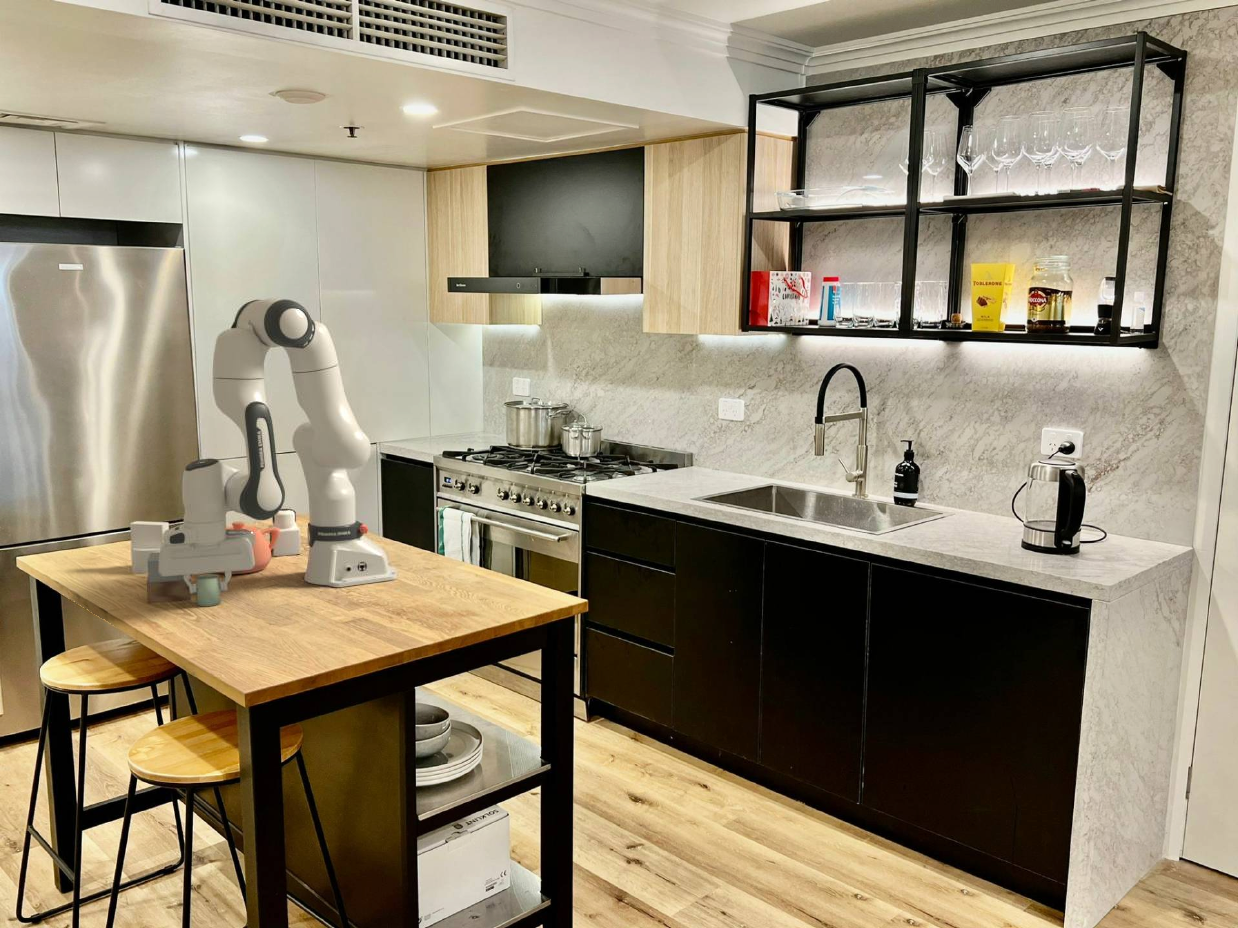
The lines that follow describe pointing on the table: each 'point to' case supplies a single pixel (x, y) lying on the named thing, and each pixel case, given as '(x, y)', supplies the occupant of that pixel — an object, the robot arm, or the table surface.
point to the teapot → (258, 546)
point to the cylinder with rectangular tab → (145, 543)
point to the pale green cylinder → (208, 590)
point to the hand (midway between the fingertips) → (208, 591)
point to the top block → (154, 574)
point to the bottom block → (168, 592)
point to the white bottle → (286, 533)
